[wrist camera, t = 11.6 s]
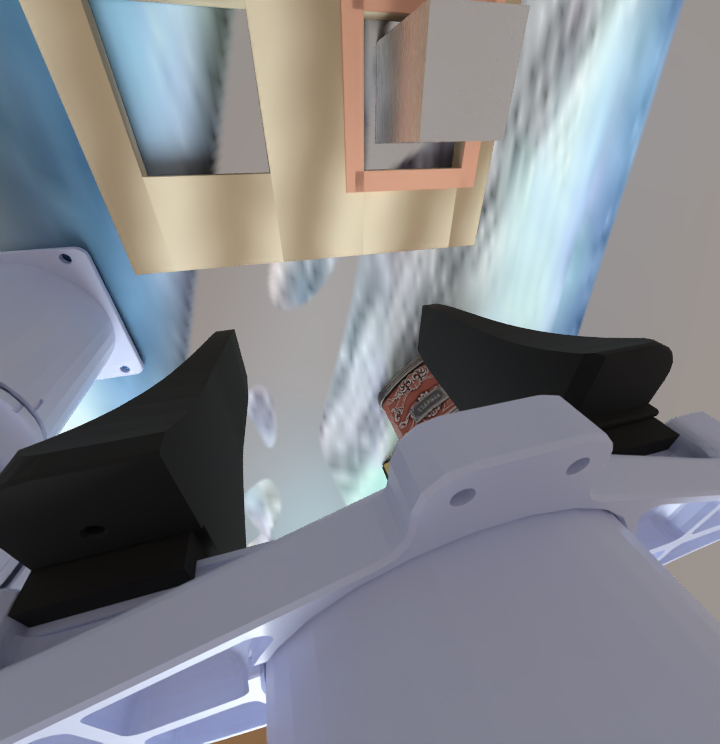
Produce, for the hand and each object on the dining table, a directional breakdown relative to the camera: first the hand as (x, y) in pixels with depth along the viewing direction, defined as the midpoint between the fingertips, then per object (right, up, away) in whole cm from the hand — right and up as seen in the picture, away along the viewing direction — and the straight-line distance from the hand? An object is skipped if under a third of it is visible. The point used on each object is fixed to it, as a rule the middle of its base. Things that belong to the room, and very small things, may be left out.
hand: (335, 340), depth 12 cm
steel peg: (+4, +14, +5) cm, 15 cm away
